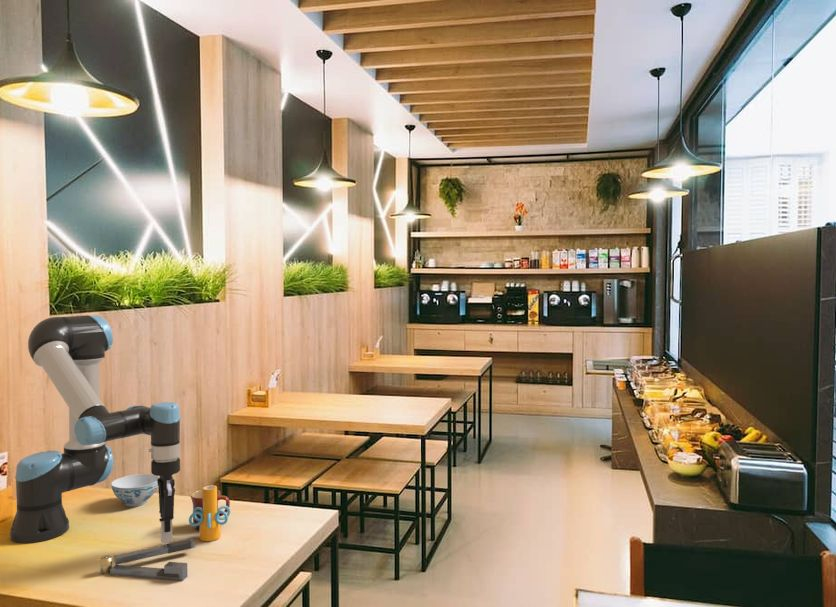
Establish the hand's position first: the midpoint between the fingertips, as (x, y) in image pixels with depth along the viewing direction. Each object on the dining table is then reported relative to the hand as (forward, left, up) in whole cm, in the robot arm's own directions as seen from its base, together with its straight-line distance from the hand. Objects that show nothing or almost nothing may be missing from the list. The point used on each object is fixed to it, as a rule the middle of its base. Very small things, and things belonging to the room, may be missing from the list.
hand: (166, 541), depth 176 cm
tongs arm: (+1, -7, -1) cm, 7 cm away
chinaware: (-31, +33, -3) cm, 46 cm away
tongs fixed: (+2, -15, -2) cm, 15 cm away
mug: (+4, +18, -3) cm, 19 cm away
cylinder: (+8, +10, -3) cm, 13 cm away
